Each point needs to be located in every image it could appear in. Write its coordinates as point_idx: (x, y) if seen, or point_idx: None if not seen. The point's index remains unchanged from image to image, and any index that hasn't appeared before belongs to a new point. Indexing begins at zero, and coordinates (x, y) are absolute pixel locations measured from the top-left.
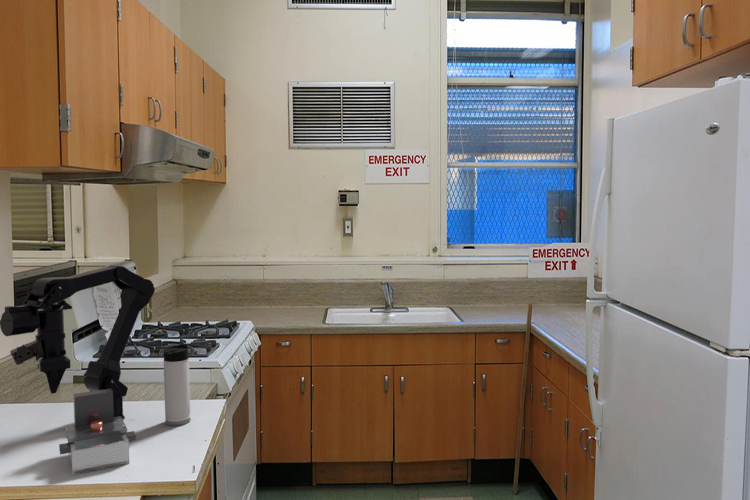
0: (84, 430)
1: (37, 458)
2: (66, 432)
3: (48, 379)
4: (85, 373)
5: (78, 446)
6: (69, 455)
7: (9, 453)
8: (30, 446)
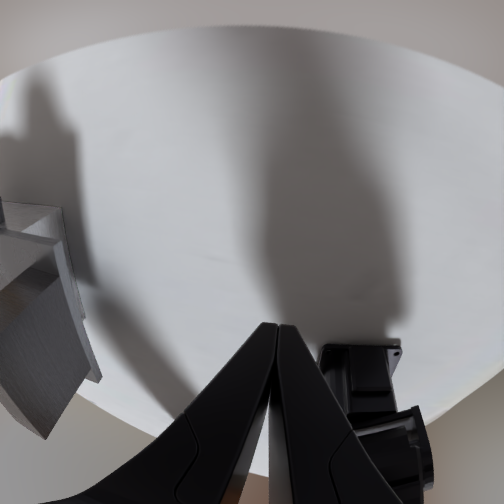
0: (9, 278)
1: (96, 126)
2: (5, 235)
3: (164, 439)
4: (413, 493)
5: None
6: (47, 211)
7: (198, 35)
8: (231, 104)
